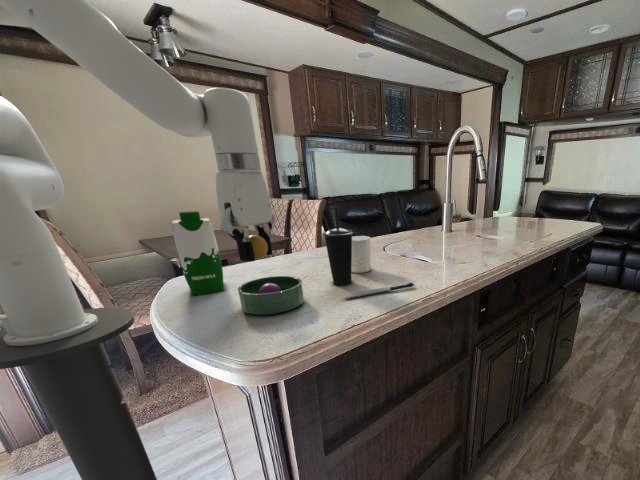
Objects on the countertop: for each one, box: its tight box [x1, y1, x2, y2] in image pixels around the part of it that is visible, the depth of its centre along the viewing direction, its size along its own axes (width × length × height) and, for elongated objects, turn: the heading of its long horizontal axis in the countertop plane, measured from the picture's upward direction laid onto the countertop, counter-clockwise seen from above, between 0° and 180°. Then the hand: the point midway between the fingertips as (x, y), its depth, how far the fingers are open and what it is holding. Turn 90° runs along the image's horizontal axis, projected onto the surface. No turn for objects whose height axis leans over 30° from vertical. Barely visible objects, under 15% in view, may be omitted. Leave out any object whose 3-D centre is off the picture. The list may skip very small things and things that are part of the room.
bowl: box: [237, 275, 305, 316], centre depth 71 cm, size 13×13×5 cm
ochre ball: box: [248, 234, 268, 260], centre depth 67 cm, size 5×5×5 cm
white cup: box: [351, 235, 372, 274], centre depth 97 cm, size 8×8×10 cm
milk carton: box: [171, 210, 225, 297], centre depth 80 cm, size 9×9×20 cm
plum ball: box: [258, 283, 282, 294], centre depth 70 cm, size 5×5×5 cm
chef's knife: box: [343, 282, 415, 300], centre depth 79 cm, size 19×1×3 cm
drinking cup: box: [322, 207, 354, 286], centre depth 83 cm, size 8×8×20 cm
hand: (256, 256), depth 68 cm, fingers closed on ochre ball, 4 cm apart
